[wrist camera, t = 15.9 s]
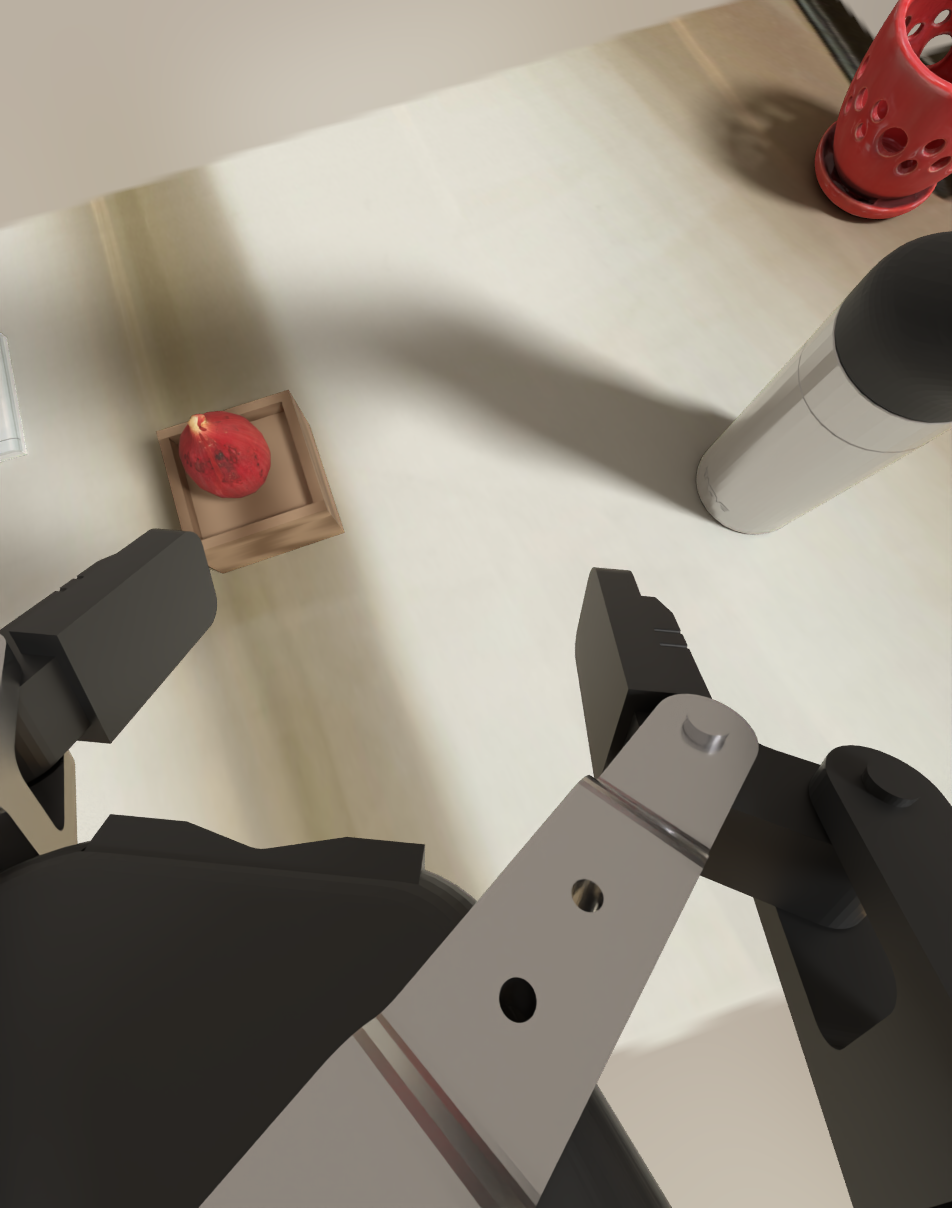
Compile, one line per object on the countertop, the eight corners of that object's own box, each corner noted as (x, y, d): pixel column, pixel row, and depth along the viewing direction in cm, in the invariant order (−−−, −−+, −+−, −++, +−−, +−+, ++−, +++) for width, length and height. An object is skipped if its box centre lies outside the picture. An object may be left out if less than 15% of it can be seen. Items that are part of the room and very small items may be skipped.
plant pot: (772, 165, 51) (861, 1, 39) (874, 112, 52) (991, -61, 40) (854, 260, 48) (976, 117, 37) (959, 202, 50) (1109, 47, 38)
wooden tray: (309, 425, 45) (288, 389, 40) (344, 532, 43) (326, 509, 38) (192, 463, 44) (156, 431, 39) (222, 573, 42) (188, 555, 37)
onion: (297, 495, 39) (253, 442, 32) (228, 525, 39) (165, 480, 31) (270, 433, 40) (221, 368, 33) (202, 462, 40) (135, 403, 32)
